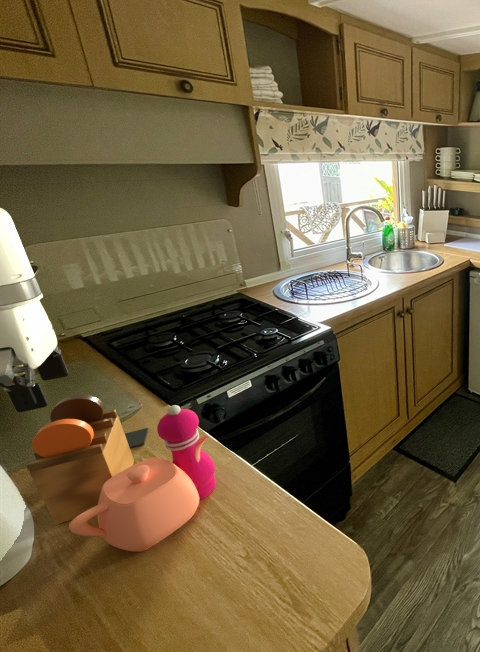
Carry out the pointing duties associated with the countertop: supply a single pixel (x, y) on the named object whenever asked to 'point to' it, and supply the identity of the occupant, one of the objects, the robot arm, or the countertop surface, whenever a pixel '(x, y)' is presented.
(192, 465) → the pepper mill
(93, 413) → the walnut disc
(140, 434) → the mat
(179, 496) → the teapot
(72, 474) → the rack
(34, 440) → the orange disc
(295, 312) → the countertop surface
